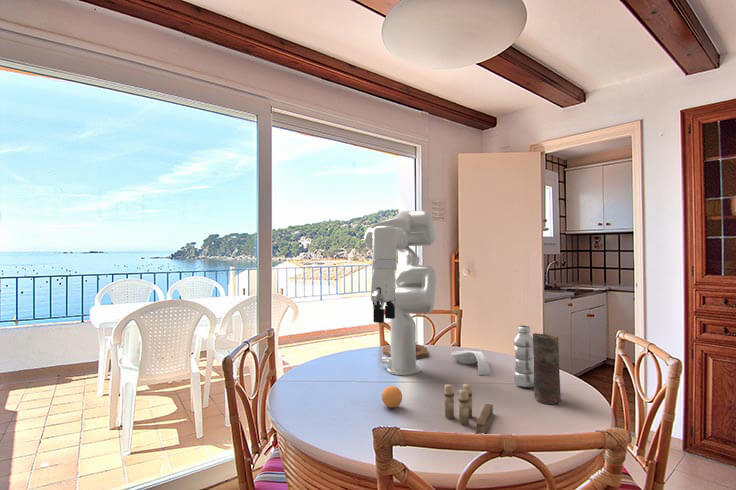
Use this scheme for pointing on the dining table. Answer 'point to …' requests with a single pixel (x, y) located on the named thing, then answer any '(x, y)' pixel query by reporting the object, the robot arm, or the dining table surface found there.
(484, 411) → the brown wooden bar
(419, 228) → the robot arm
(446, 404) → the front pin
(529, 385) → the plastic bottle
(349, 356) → the dining table surface
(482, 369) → the spoon rest
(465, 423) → the pin
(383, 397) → the ball
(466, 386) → the pin
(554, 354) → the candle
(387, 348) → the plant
